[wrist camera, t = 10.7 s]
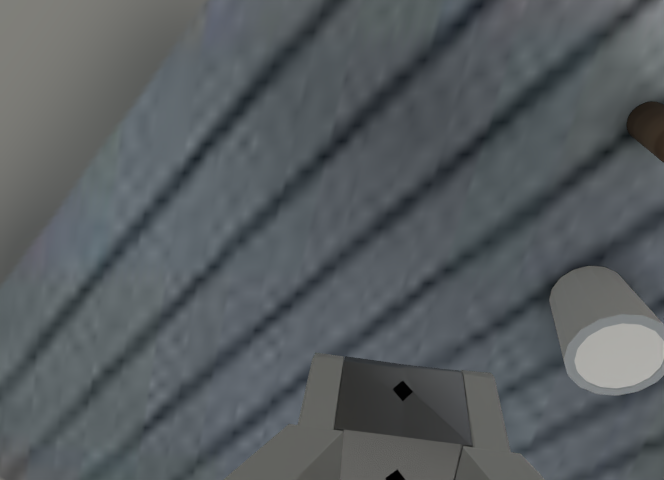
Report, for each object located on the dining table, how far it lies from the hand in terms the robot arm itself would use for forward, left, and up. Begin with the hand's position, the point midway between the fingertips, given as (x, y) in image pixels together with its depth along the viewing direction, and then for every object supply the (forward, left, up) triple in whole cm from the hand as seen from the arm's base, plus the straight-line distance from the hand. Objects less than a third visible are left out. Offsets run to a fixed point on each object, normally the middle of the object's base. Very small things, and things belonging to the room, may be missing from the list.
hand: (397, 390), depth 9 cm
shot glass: (-16, +16, -29) cm, 37 cm away
